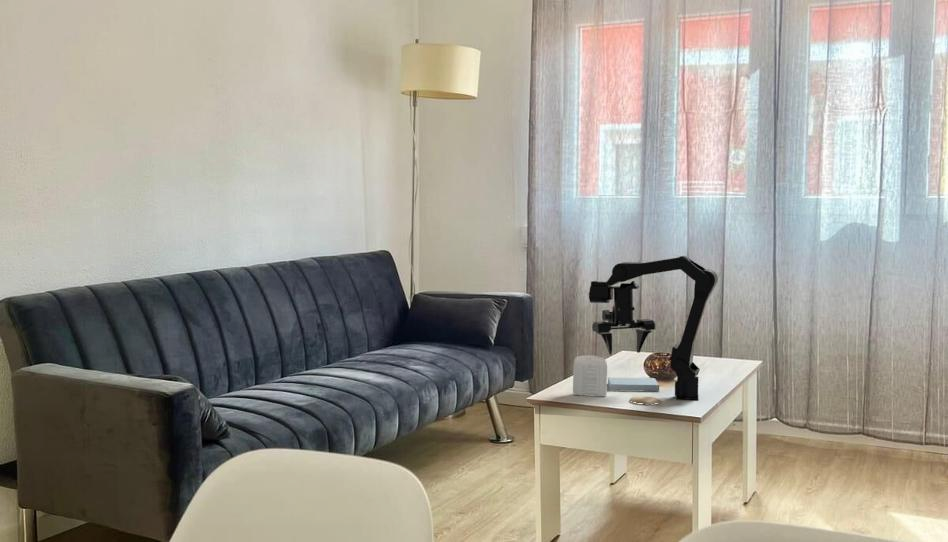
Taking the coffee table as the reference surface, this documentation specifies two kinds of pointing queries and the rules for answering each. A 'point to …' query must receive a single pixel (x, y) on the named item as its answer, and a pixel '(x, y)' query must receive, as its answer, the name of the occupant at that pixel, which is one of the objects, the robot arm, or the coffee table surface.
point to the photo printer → (590, 375)
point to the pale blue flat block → (633, 384)
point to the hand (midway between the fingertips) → (624, 353)
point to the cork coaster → (645, 400)
